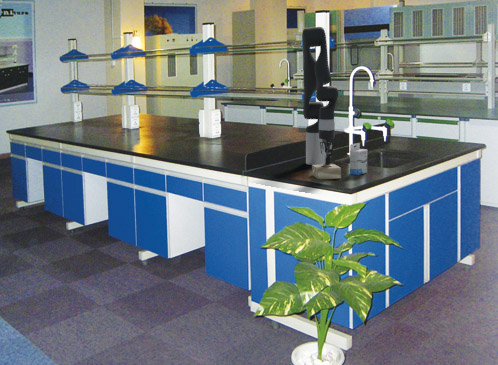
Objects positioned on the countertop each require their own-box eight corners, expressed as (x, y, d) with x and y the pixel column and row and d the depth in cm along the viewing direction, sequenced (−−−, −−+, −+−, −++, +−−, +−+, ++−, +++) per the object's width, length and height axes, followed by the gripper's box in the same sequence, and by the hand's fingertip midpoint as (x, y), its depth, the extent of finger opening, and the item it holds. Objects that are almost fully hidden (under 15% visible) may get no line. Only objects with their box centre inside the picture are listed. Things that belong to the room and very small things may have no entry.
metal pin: (322, 174, 295) (322, 149, 292) (328, 173, 295) (328, 149, 293) (324, 175, 291) (324, 150, 289) (330, 175, 292) (330, 150, 290)
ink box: (357, 175, 295) (358, 145, 292) (349, 174, 298) (349, 144, 295) (367, 172, 301) (368, 143, 298) (359, 171, 304) (359, 142, 301)
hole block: (312, 175, 298) (312, 165, 297) (333, 173, 300) (333, 163, 299) (318, 179, 287) (318, 169, 286) (340, 178, 289) (341, 167, 288)
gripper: (314, 127, 295) (314, 162, 298) (323, 130, 281) (323, 167, 285) (329, 126, 296) (329, 161, 300) (339, 130, 282) (338, 166, 286)
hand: (326, 163), depth 292 cm, fingers open, 3 cm apart
